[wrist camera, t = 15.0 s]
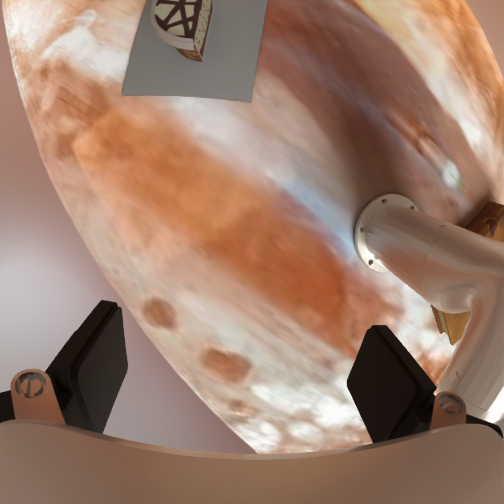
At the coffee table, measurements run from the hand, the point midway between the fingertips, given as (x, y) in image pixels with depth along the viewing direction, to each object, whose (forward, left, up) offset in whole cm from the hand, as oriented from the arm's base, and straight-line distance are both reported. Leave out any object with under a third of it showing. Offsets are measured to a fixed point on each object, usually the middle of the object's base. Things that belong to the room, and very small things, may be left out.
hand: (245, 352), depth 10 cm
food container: (+10, -25, -30) cm, 40 cm away
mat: (+9, -25, -30) cm, 40 cm away
